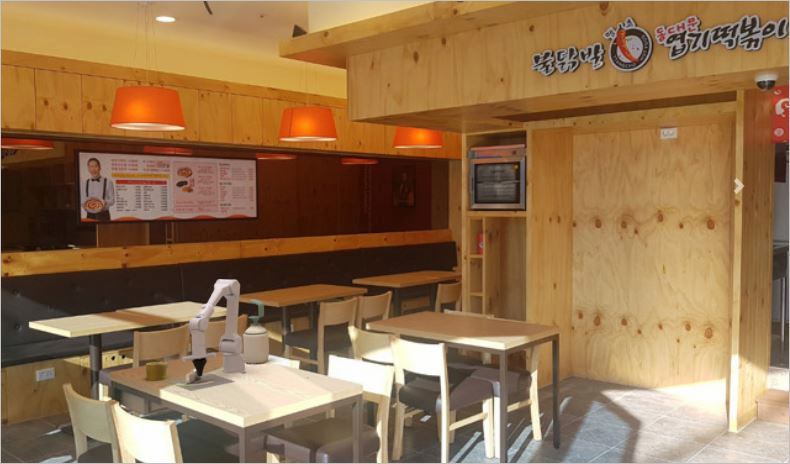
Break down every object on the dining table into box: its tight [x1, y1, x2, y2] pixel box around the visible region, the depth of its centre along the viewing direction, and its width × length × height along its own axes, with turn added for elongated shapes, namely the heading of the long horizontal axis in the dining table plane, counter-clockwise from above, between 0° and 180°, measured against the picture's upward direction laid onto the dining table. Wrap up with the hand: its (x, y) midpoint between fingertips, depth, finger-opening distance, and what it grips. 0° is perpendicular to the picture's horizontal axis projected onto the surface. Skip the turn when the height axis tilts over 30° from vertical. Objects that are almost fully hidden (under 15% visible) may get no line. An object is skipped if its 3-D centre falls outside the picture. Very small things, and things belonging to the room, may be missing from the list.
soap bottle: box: [242, 298, 270, 365], centre depth 350 cm, size 12×12×31 cm
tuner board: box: [168, 373, 236, 392], centre depth 308 cm, size 21×22×1 cm
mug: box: [145, 361, 169, 382], centre depth 318 cm, size 12×10×10 cm
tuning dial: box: [185, 367, 201, 384], centre depth 309 cm, size 13×4×4 cm, turn 172°
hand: (199, 375), depth 308 cm, fingers closed
